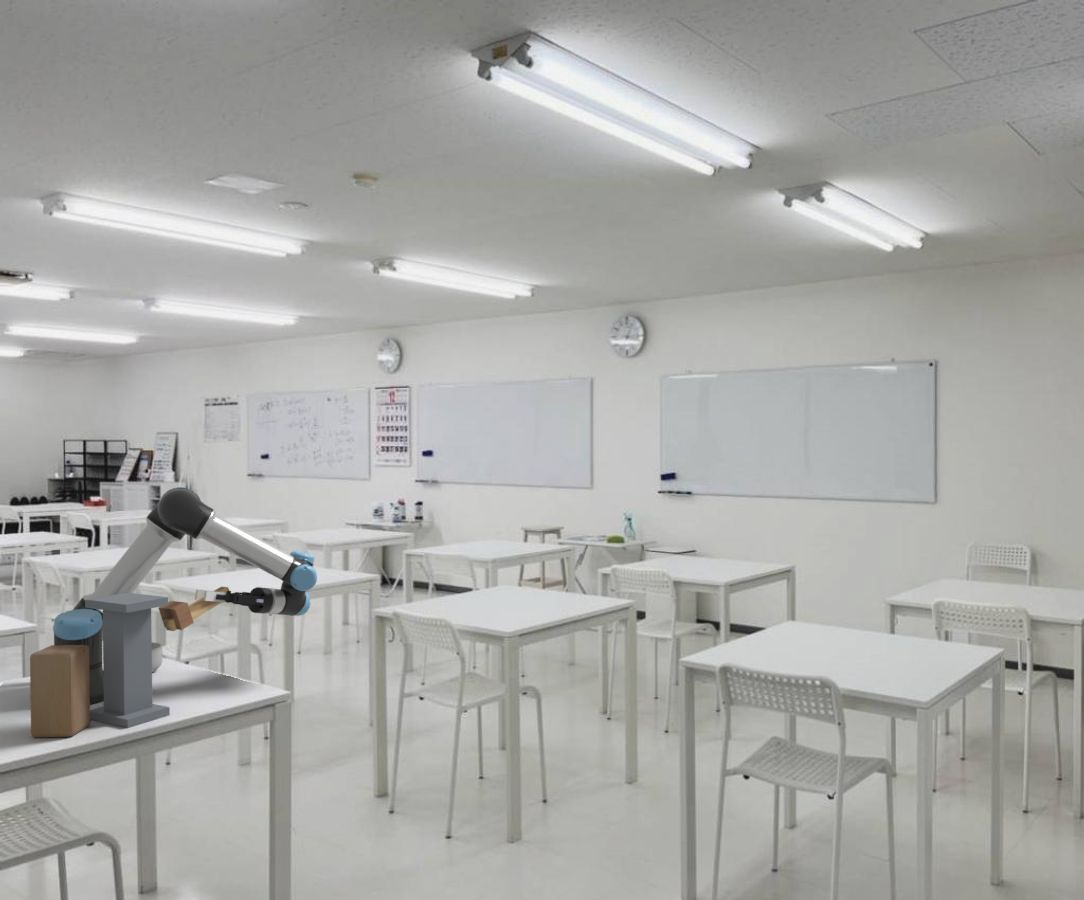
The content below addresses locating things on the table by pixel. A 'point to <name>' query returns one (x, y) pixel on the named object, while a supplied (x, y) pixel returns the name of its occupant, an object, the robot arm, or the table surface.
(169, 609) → the marking gauge
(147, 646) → the tall stand
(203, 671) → the table surface
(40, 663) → the wooden block
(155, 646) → the teacup
